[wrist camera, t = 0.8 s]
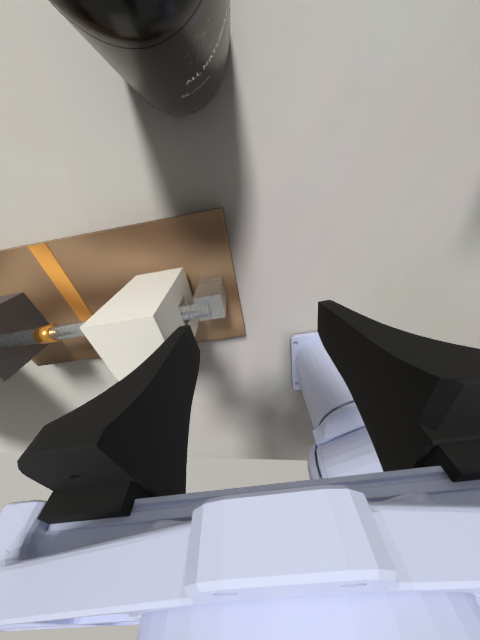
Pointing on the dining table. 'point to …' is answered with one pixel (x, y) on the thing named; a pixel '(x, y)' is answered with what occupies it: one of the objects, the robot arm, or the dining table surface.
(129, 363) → the sleeve
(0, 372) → the block
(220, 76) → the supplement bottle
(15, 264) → the board
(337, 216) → the dining table surface
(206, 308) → the rail
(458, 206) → the dining table surface
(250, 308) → the dining table surface
